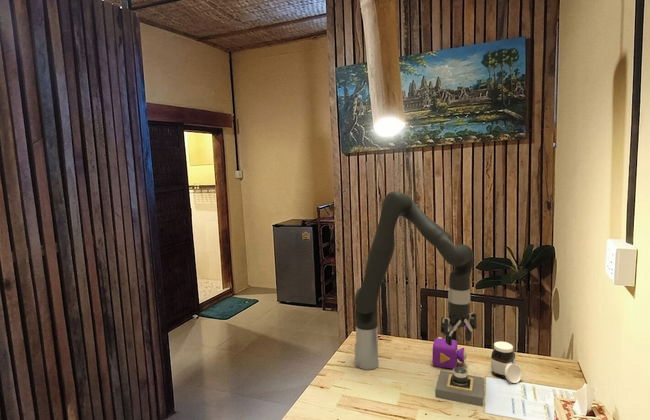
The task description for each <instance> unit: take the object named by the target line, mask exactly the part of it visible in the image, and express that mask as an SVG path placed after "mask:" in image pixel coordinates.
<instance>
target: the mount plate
mask: <svg viewBox="0 0 650 420" xmlns="http://www.w3.org/2000/svg"><path fill="white" fill-rule="evenodd" d="M452 373H453V371H447V370H440V371H439V374H438V377H437V382H436V386H435V389H434V391H435V394H434V395H435V396H434V397H435V398H439V399H444V400H449V401H453V402H454V401H455V402H459V403H462V404H463V403H464V404H469V405H474V406H479V407H484V393H485V391H484V389H485V377H482V376H477V375H470V374H468V384H467V388H462V387H456V386H453V380H452Z"/></svg>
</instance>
